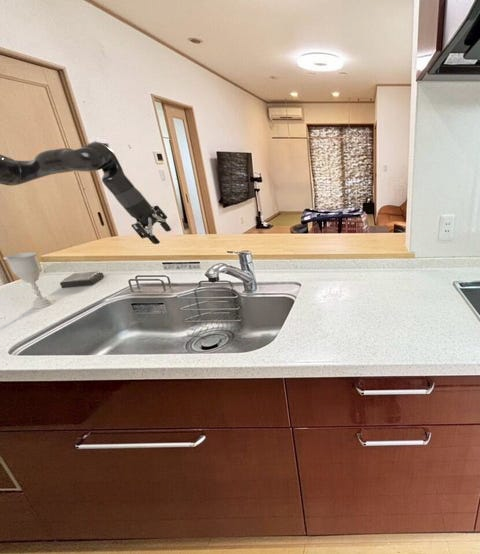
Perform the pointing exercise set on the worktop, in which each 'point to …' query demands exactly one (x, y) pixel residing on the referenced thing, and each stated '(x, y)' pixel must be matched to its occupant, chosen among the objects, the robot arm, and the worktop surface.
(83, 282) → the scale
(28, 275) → the chalice
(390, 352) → the worktop surface
